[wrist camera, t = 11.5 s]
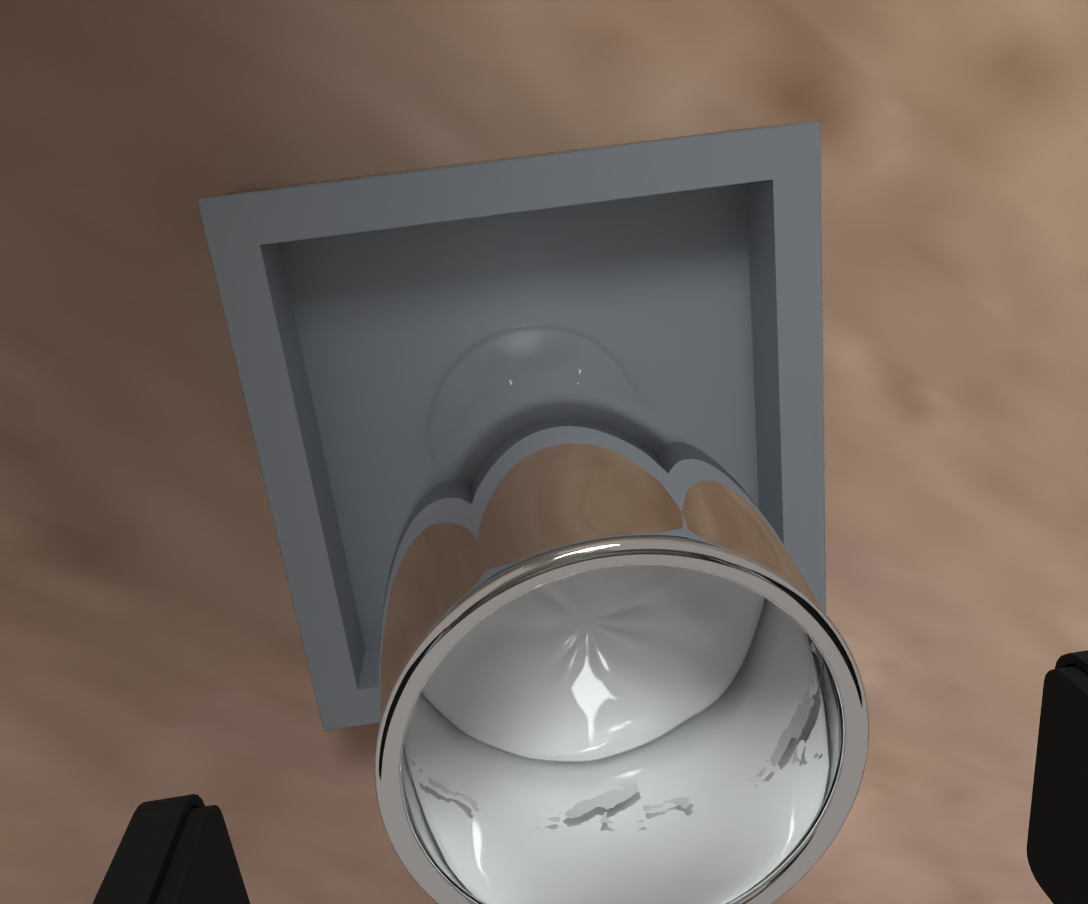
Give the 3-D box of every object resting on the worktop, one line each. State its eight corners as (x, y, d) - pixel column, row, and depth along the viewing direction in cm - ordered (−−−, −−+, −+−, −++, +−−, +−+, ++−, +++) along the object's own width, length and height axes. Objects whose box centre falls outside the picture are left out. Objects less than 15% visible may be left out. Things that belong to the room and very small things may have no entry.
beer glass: (692, 473, 27) (954, 841, 12) (487, 577, 27) (515, 1044, 13) (590, 265, 24) (770, 424, 10) (369, 382, 25) (246, 689, 11)
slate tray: (228, 193, 24) (197, 199, 21) (778, 124, 24) (819, 121, 22) (337, 673, 29) (323, 731, 26) (791, 605, 29) (826, 654, 26)
